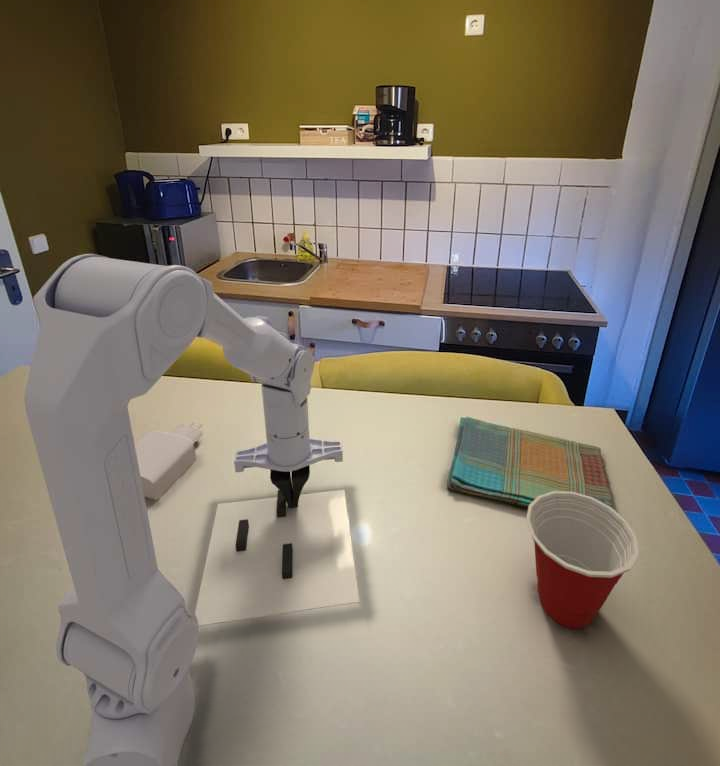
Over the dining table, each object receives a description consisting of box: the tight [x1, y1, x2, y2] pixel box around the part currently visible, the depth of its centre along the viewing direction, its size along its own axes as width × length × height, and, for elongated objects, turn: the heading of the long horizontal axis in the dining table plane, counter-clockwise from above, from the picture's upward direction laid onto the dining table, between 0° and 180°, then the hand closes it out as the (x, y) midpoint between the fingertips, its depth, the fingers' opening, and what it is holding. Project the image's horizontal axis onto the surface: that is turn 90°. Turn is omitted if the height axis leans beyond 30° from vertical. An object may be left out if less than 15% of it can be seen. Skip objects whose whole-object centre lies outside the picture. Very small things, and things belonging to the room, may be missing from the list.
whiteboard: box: [194, 489, 360, 627], centre depth 56 cm, size 18×20×1 cm
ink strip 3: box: [282, 543, 293, 579], centre depth 53 cm, size 4×1×1 cm, turn 8°
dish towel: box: [446, 416, 616, 511], centre depth 69 cm, size 17×23×2 cm
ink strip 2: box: [276, 489, 286, 518], centre depth 62 cm, size 4×1×1 cm, turn 8°
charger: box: [134, 421, 203, 501], centre depth 71 cm, size 5×9×15 cm
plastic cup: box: [525, 491, 640, 630], centre depth 48 cm, size 11×11×12 cm
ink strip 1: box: [236, 519, 249, 552], centre depth 57 cm, size 4×1×1 cm, turn 8°
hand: (293, 502), depth 62 cm, fingers closed
